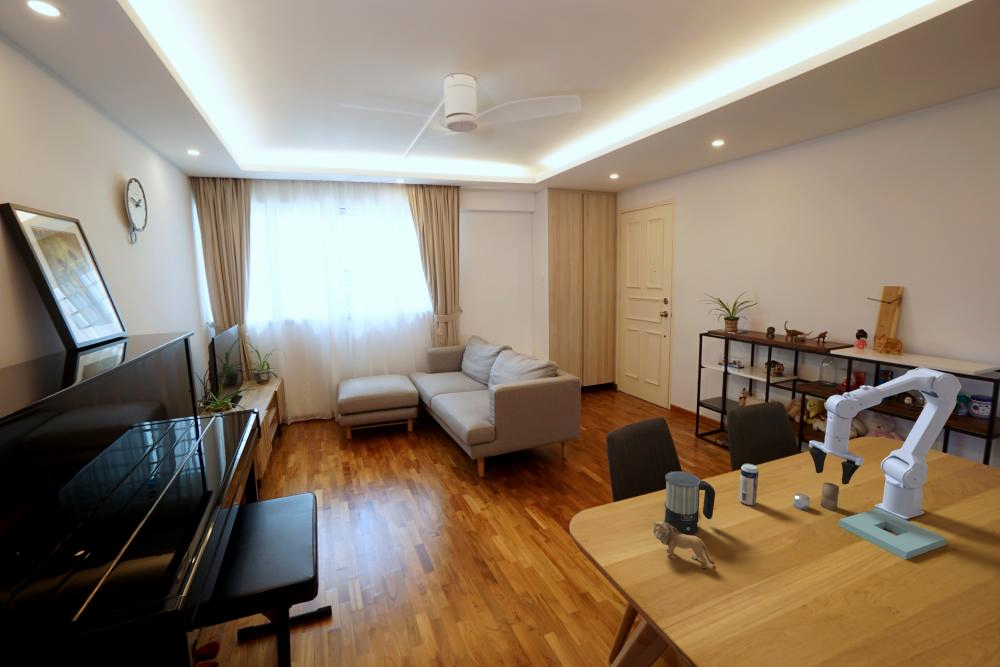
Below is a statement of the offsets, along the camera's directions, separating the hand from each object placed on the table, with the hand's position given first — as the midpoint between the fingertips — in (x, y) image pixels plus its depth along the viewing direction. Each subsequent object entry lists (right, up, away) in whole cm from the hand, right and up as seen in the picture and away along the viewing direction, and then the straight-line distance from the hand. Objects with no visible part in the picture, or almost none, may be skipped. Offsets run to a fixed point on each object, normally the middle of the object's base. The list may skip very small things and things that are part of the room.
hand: (831, 477), depth 135 cm
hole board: (+6, -12, -13) cm, 19 cm away
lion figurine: (-55, -14, -23) cm, 61 cm away
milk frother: (-49, -11, -5) cm, 50 cm away
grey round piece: (-8, -10, +1) cm, 13 cm away
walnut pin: (0, -9, +1) cm, 10 cm away
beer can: (-23, -9, +4) cm, 26 cm away
